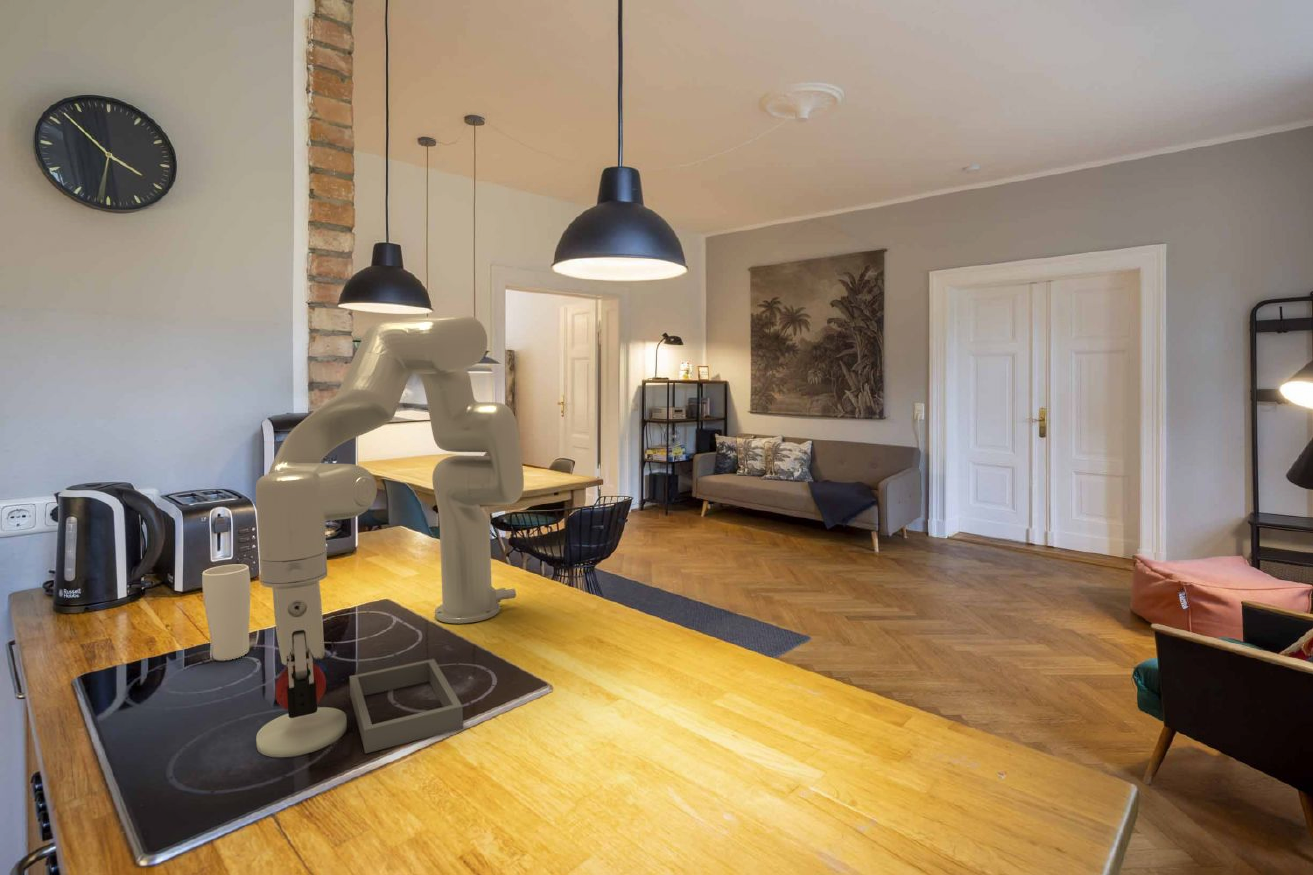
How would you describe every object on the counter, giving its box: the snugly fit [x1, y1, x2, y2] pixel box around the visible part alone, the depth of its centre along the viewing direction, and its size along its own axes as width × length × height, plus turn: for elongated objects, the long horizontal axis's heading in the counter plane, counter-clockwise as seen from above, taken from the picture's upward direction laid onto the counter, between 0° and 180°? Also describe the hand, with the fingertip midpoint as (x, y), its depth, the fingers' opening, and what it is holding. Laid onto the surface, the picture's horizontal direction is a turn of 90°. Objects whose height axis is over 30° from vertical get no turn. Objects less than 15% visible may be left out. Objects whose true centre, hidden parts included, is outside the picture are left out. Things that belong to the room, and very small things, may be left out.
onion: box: [274, 660, 327, 711], centre depth 87 cm, size 6×6×8 cm
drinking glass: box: [201, 563, 251, 662], centre depth 113 cm, size 7×7×15 cm
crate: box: [348, 658, 464, 754], centre depth 93 cm, size 12×18×3 cm, turn 30°
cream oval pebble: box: [255, 706, 348, 758], centre depth 87 cm, size 10×10×1 cm
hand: (302, 702), depth 87 cm, fingers closed on onion, 5 cm apart
